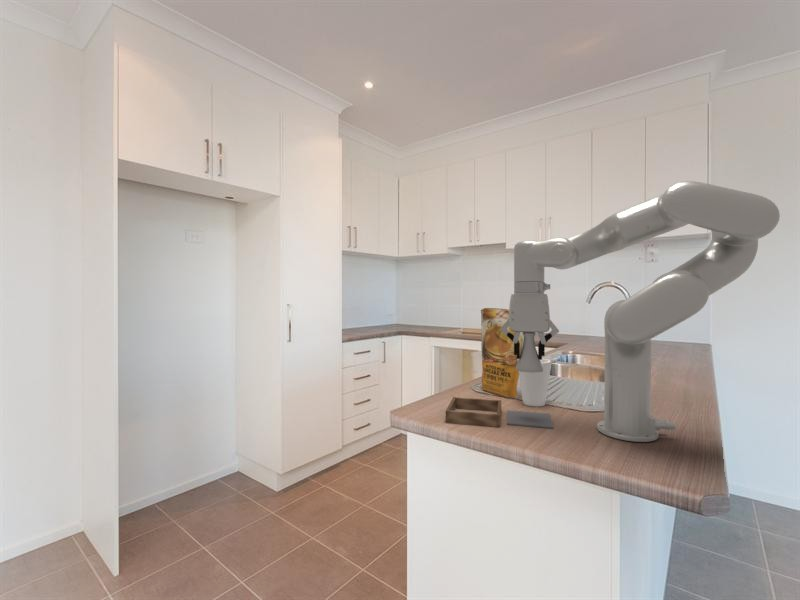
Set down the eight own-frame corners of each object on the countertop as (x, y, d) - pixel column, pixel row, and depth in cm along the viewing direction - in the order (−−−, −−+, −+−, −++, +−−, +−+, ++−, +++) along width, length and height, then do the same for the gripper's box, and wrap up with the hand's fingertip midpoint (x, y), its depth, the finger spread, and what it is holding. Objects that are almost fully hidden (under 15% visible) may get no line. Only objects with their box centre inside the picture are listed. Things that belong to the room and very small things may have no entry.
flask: (539, 368, 106) (539, 331, 106) (547, 373, 99) (547, 334, 99) (512, 367, 107) (512, 331, 107) (517, 373, 100) (517, 334, 100)
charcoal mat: (549, 414, 107) (549, 413, 107) (553, 428, 97) (553, 427, 97) (507, 411, 110) (507, 410, 110) (506, 424, 100) (507, 423, 100)
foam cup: (515, 398, 123) (515, 357, 123) (546, 399, 122) (546, 357, 122) (520, 407, 114) (520, 362, 114) (553, 408, 113) (554, 363, 112)
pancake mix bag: (488, 385, 140) (487, 307, 140) (530, 397, 124) (530, 309, 123) (473, 388, 137) (473, 308, 136) (515, 401, 121) (515, 310, 120)
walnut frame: (501, 410, 111) (501, 400, 111) (499, 427, 98) (499, 415, 98) (453, 407, 115) (453, 397, 115) (445, 422, 102) (445, 410, 102)
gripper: (562, 288, 104) (562, 357, 104) (496, 289, 108) (496, 354, 109) (565, 288, 97) (565, 362, 97) (494, 289, 101) (495, 359, 102)
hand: (529, 357), depth 103 cm, fingers closed on flask, 4 cm apart
